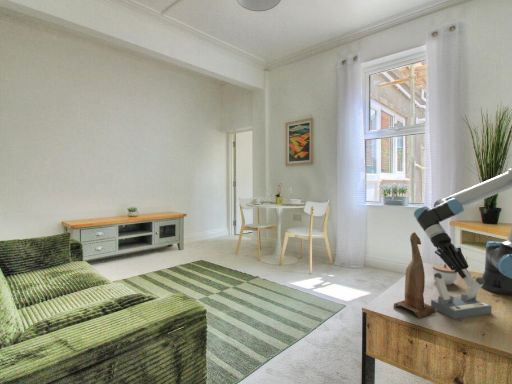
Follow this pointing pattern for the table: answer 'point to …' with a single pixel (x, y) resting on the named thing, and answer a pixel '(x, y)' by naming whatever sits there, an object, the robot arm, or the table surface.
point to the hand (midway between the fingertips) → (471, 285)
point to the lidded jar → (445, 273)
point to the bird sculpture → (415, 283)
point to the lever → (441, 287)
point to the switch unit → (461, 306)
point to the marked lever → (475, 288)
